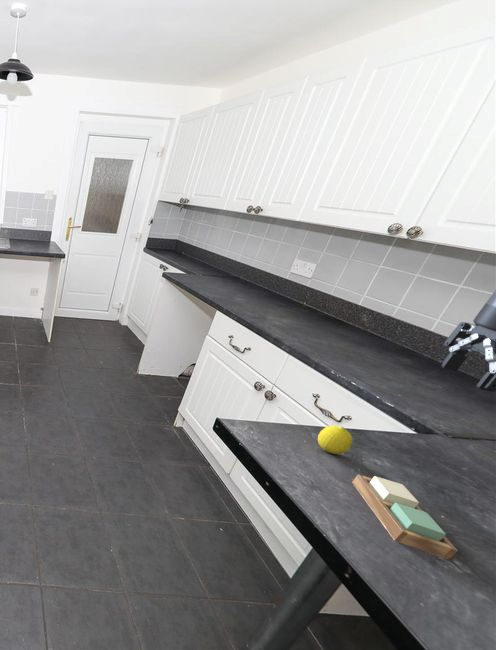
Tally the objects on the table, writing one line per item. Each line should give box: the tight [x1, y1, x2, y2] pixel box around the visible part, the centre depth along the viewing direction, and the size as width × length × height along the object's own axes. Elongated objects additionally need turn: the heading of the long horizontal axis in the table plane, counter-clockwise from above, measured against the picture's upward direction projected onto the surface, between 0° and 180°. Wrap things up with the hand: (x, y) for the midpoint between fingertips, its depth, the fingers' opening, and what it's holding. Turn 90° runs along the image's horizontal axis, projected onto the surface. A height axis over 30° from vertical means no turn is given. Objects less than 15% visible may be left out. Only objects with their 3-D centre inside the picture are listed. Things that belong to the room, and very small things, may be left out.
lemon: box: [317, 425, 354, 455], centre depth 81 cm, size 6×6×8 cm
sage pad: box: [389, 503, 447, 541], centre depth 63 cm, size 5×5×4 cm
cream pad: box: [369, 475, 420, 508], centre depth 68 cm, size 5×5×4 cm
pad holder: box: [351, 473, 459, 561], centre depth 66 cm, size 7×14×3 cm, turn 157°
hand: (465, 378), depth 70 cm, fingers open, 8 cm apart
